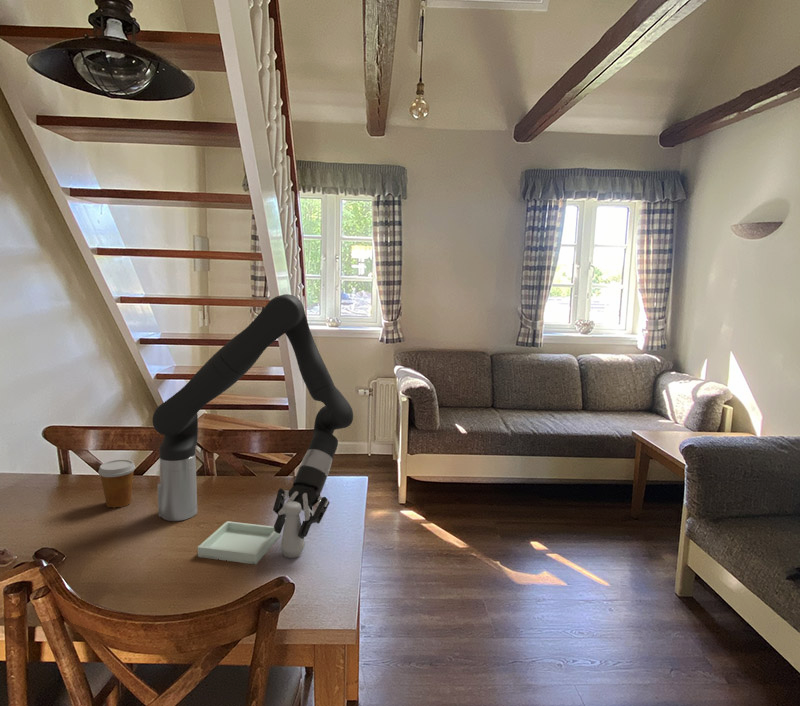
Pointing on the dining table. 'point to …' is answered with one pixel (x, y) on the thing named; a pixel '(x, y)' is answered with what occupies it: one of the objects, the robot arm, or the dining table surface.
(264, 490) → the dining table surface
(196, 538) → the dining table surface
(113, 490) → the disposable coffee cup
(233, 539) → the tray
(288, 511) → the salt shaker
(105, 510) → the dining table surface
